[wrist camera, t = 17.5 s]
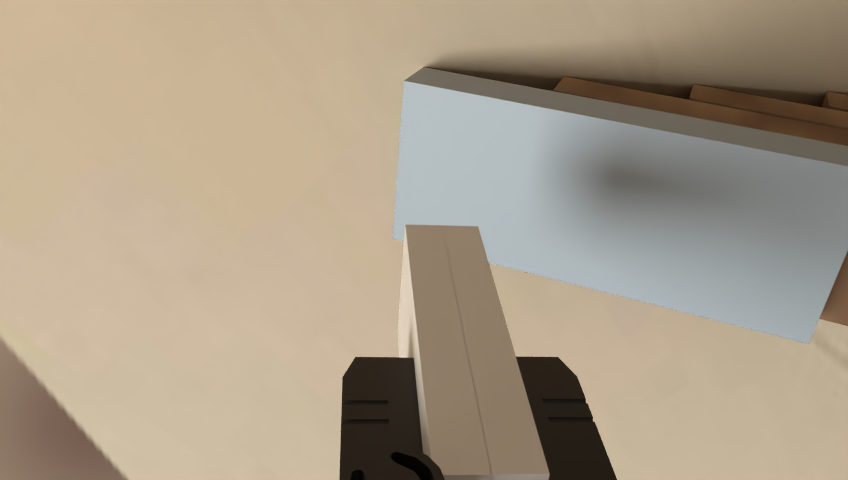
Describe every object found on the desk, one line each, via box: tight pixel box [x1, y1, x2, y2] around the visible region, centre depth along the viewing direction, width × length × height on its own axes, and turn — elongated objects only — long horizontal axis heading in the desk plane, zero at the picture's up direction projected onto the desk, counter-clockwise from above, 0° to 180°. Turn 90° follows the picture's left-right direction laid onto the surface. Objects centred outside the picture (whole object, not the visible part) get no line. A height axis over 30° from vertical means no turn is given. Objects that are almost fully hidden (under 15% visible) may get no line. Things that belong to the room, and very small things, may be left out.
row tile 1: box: [553, 76, 848, 326], centre depth 21 cm, size 2×5×12 cm
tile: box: [393, 67, 848, 344], centre depth 21 cm, size 2×5×12 cm
